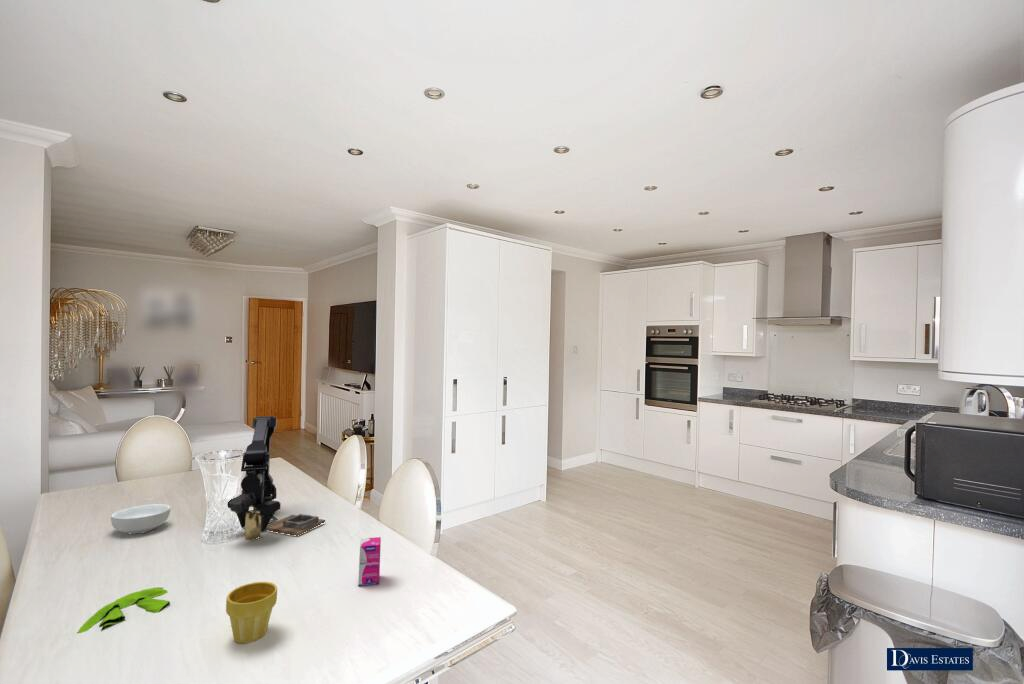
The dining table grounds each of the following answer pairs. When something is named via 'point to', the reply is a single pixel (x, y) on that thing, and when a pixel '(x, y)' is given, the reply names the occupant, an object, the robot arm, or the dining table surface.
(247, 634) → the plant pot
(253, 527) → the solid brass cylinder
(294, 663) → the dining table surface
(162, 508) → the cereal bowl
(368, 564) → the supplement box
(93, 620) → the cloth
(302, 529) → the jig
